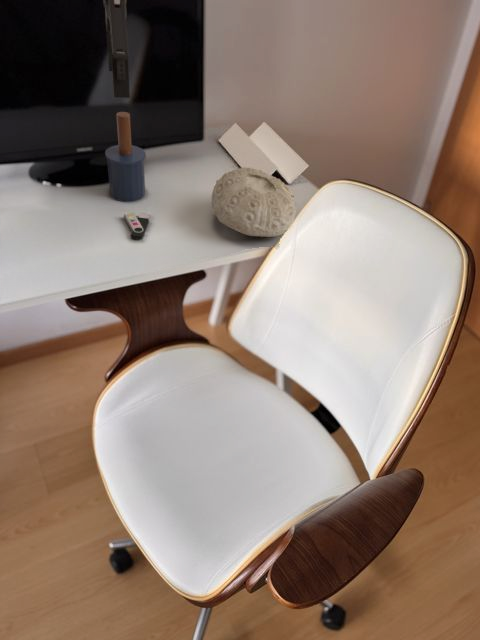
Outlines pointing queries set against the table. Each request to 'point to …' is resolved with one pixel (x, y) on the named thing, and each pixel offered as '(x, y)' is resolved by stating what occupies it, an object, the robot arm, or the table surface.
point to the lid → (124, 144)
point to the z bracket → (263, 152)
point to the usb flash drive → (137, 224)
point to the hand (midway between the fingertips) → (118, 83)
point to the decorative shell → (253, 203)
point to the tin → (126, 181)
